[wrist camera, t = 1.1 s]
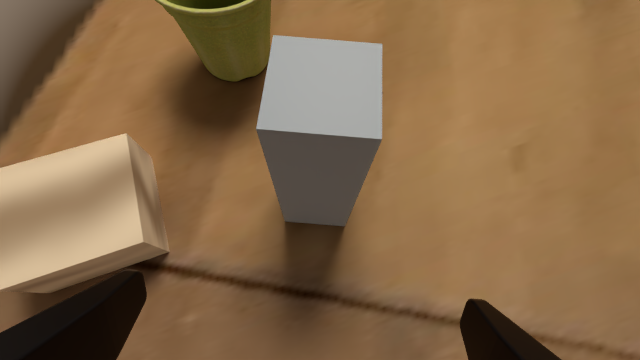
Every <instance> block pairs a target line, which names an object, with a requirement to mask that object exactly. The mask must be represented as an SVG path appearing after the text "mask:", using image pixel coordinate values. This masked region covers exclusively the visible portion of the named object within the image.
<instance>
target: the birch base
mask: <svg viewBox="0 0 640 360" xmlns="http://www.w3.org/2000/svg"><path fill="white" fill-rule="evenodd" d="M168 252H169V246H168V241H167V236H166V230H165V225H164V220H163V214H162V209H161V204H160V198H159V193H158V188H157V182H156V177H155V172H154V166H153V161H152V157H151V156H150V155H149V154H148V153H147V152H146V151H145V150H144V149H143V148H141V147H140V146H139V145H138V144H137V143H136V142H135V141H134V140H133V139H132V138H131V137H130V136H129V135H128V134H127V133H125V134H121V135H118V136H114V137H111V138H107V139H103V140H100V141H96V142H93V143H89V144H85V145H82V146H78V147H75V148H71V149H67V150H64V151H60V152H57V153H53V154H49V155H46V156H42V157H39V158H35V159H32V160H28V161H24V162H21V163H17V164H14V165H10V166H6V167H3V168H0V291H11V292H32V293H52V292H55V291H57V290H60V289H63V288H66V287H69V286H72V285H75V284H78V283H81V282H84V281H86V280H89V279H92V278H95V277H98V276H101V275H104V274H107V273H110V272H113V271H115V270H118V269H121V268H124V267H127V266H130V265H133V264H136V263H139V262H142V261H144V260H147V259H150V258H153V257H156V256H159V255H162V254H165V253H168Z"/></svg>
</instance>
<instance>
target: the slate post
mask: <svg viewBox="0 0 640 360" xmlns="http://www.w3.org/2000/svg"><path fill="white" fill-rule="evenodd" d="M256 130H257V133H258V136H259V140H260V143H261V146H262V149H263V152H264V156H265V159H266V162H267V165H268V169H269V172H270V175H271V178H272V181H273V185H274V188H275V191H276V194H277V197H278V201H279V204H280V207H281V210H282V214H283V217H284V220H285V221H286V222H298V223H310V224H322V225H334V226H345V225H346V223H347V220H348V218H349V216H350V213H351V211H352V208H353V206H354V204H355V201H356V199H357V197H358V194H359V192H360V190H361V187H362V185H363V183H364V180H365V178H366V176H367V173H368V171H369V168H370V166H371V164H372V161H373V159H374V157H375V154H376V152H377V150H378V147H379V145H380V143H381V140H382V44H376V43H364V42H351V41H339V40H327V39H314V38H302V37H289V36H277V35H273V40H272V45H271V51H270V56H269V62H268V67H267V73H266V78H265V83H264V89H263V94H262V100H261V105H260V111H259V116H258V122H257V127H256Z"/></svg>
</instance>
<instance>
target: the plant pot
mask: <svg viewBox="0 0 640 360" xmlns="http://www.w3.org/2000/svg"><path fill="white" fill-rule="evenodd" d="M155 1H156V2H158V3H159V4H161V5H162V6H163V7H164V8H165V10H166V11H167V12H168V13H169V14H170V15H172V16H173V17H174V18H175V20H176V21H177V23H178V24H179V26H180V27H181V29H182V31H183V32H184V34H185V35H186V37H187V38H188V40H189V42H190V43H191V45H192V46H193V48H194V49H195V51H196V52H197V54H198V56H199V57H200V59H201V60H202V62H203V63H204V65H205V67H206V68H207V69H208V71H209V72H210V73H211V74H213V75H214V76H216V77H218V78H220V79H223V80H227V81H240V80H242V79H244V78H247V77H252V76H256V75H258V74H259V73H260V72H261V71H262V70H263V69H264V68H265V67H266V65H267V63H268V61H269V56H270V16H271V0H155Z"/></svg>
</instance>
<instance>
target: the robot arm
mask: <svg viewBox="0 0 640 360" xmlns="http://www.w3.org/2000/svg"><path fill="white" fill-rule="evenodd" d="M146 297H147V292H146V287H145V282H144V276H143V273H142V272H141V271H139V270H123V271H121V272H119V273H117V274H115V275H113V276H111V277H109V278H108V279H106V280H104V281H102V282H100V283H98V284H96V285H94V286H92V287H90V288H88V289H86V290H84V291H82V292H80V293H78V294H76V295H74V296H72V297H70V298H68V299H66V300H64V301H62V302H60V303H58V304H56V305H54V306H52V307H50V308H48V309H46V310H44V311H42V312H40V313H38V314H36V315H34V316H32V317H30V318H29V319H27V320H25V321H23V322H21V323H19V324H17V325H15V326H13V327H11V328H9V329H7V330H5V331H3V332H1V333H0V360H116V359H117V357H118V356H119V354H120V352H121V350H122V348H123V346H124V344H125V342H126V340H127V338H128V336H129V334H130V332H131V330H132V328H133V326H134V324H135V322H136V320H137V318H138V316H139V314H140V312H141V310H142V308H143V305H144V303H145V301H146ZM460 329H461V333H462V337H463V341H464V345H465V348H466V352H467V356H468V360H561V359H560V358H559V357H557V356H556V355H555V354H554V353H552V352H551V351H550V350H548V349H547V348H546V347H545V346H543V345H542V344H541V343H539V342H538V341H537V340H536V339H534V338H533V337H532V336H530V335H529V334H528V333H527V332H525V331H524V330H523V329H521V328H520V327H519V326H518V325H516V324H515V323H514V322H512V321H511V320H510V319H509V318H507V317H506V316H505V315H503V314H502V313H501V312H500V311H498V310H497V309H496V308H494V307H493V306H492V305H491V304H489V303H488V302H487V301H485V300H482V299H469V300H468V301H467V302H466V305H465V308H464V311H463V314H462V317H461V320H460Z"/></svg>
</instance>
